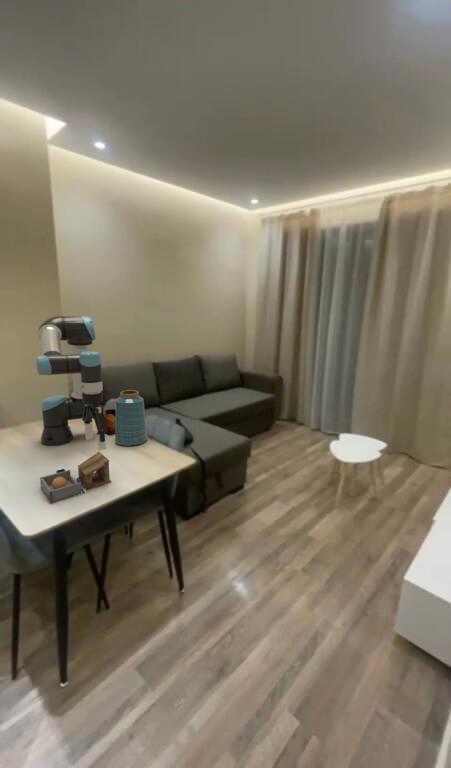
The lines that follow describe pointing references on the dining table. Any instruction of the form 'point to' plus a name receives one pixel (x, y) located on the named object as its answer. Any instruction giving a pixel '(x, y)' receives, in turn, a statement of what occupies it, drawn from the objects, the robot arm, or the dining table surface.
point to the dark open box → (60, 470)
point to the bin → (60, 493)
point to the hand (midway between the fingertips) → (95, 443)
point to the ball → (59, 482)
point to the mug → (110, 420)
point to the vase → (130, 419)
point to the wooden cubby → (90, 466)
